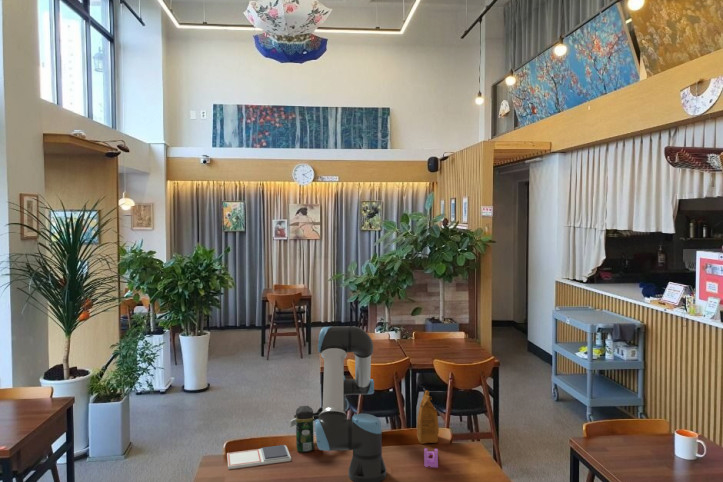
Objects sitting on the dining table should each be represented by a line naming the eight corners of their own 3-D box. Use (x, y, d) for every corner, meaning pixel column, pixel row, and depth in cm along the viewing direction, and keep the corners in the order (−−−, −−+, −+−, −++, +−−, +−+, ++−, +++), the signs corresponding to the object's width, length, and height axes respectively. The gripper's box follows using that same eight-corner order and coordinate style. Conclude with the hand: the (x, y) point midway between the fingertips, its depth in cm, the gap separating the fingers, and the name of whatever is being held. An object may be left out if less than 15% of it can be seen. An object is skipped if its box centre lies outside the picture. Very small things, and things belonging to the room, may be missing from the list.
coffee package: (437, 434, 243) (436, 389, 243) (439, 445, 231) (438, 397, 231) (416, 434, 244) (415, 389, 244) (417, 444, 231) (417, 396, 231)
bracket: (437, 467, 208) (437, 450, 208) (424, 467, 208) (424, 450, 208) (436, 454, 221) (436, 438, 221) (424, 454, 221) (423, 438, 221)
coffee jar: (295, 445, 232) (295, 404, 232) (312, 443, 234) (312, 403, 234) (296, 453, 223) (296, 411, 223) (314, 452, 224) (313, 410, 224)
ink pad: (289, 457, 216) (289, 455, 216) (263, 461, 212) (263, 458, 212) (285, 446, 228) (285, 444, 228) (260, 449, 225) (260, 447, 225)
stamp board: (291, 460, 215) (291, 457, 215) (228, 469, 208) (228, 466, 208) (286, 448, 229) (286, 445, 229) (227, 455, 221) (227, 452, 221)
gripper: (349, 424, 240) (326, 439, 221) (306, 416, 252) (280, 430, 233) (349, 408, 240) (325, 422, 221) (306, 401, 252) (280, 414, 233)
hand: (302, 426), depth 227 cm, fingers open, 13 cm apart
